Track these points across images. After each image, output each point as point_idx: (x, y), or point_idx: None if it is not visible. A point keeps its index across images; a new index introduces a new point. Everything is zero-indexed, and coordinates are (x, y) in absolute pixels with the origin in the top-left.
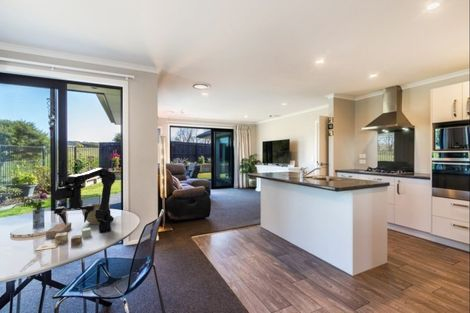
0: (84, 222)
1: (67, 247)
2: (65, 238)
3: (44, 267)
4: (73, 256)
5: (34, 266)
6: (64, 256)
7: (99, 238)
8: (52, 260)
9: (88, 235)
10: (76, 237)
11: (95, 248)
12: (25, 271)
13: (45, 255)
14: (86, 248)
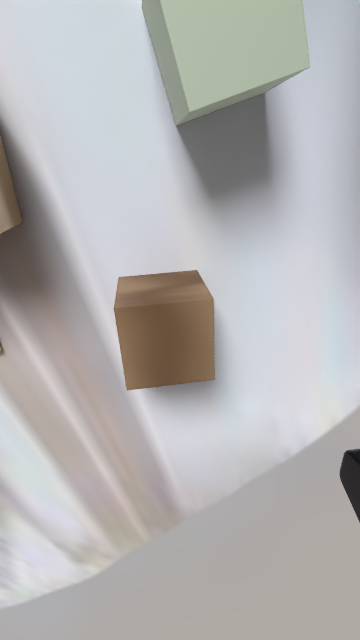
0: (346, 481)
1: (107, 363)
2: (6, 228)
3: (97, 570)
4: (201, 498)
5: (37, 560)
6: (148, 491)
7: (350, 218)
8: (99, 521)
9: (242, 98)
10: (175, 370)
11: (314, 425)
12: (25, 588)
13: (8, 461)
14: (257, 413)
